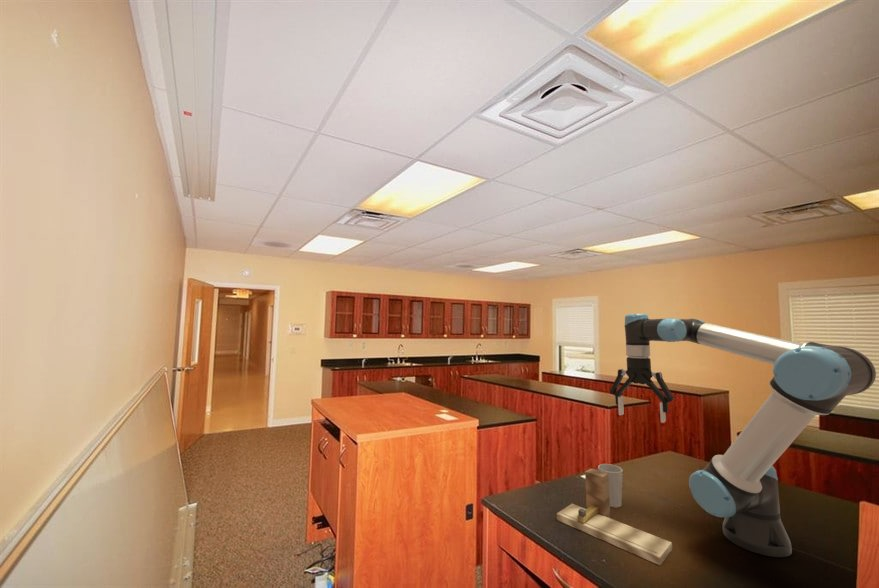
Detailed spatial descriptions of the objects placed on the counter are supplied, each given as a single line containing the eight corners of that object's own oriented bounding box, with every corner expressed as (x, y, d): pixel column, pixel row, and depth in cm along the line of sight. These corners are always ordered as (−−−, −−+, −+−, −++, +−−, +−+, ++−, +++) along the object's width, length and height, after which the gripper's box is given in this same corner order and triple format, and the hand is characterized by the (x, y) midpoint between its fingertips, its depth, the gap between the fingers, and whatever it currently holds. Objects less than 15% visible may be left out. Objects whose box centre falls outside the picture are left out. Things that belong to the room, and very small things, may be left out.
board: (672, 549, 101) (671, 542, 101) (660, 565, 94) (659, 557, 94) (572, 509, 123) (572, 503, 123) (556, 519, 117) (556, 513, 117)
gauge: (610, 517, 118) (608, 473, 119) (590, 534, 109) (588, 485, 110) (592, 511, 122) (590, 468, 124) (571, 526, 113) (570, 479, 114)
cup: (598, 505, 126) (597, 469, 127) (600, 495, 133) (598, 462, 134) (624, 510, 122) (622, 474, 124) (624, 500, 129) (622, 466, 131)
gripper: (682, 358, 121) (686, 423, 119) (607, 354, 140) (609, 410, 138) (675, 360, 116) (679, 427, 114) (598, 355, 135) (601, 413, 133)
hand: (641, 418), depth 126 cm, fingers open, 13 cm apart
